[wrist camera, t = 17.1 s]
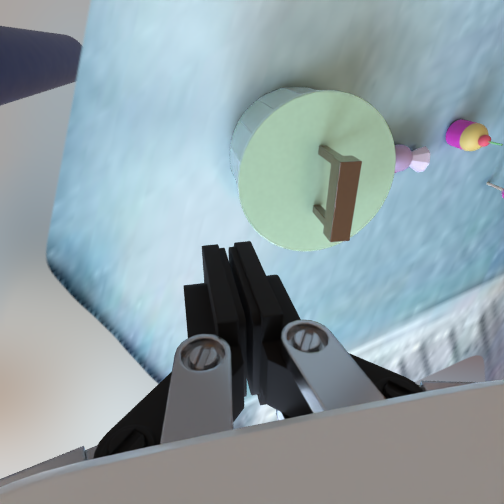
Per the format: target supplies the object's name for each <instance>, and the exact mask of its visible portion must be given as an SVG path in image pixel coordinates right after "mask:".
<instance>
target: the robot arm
mask: <svg viewBox="0 0 504 504" xmlns="http://www.w3.org/2000/svg"><path fill="white" fill-rule="evenodd" d="M202 256H203V270H204V283H201V284H193V285H184V297H185V308H186V320H187V332H188V339H186V340H185V341H183V342H182V343H181V344H180V345H179V347H178V348H177V350H176V353H175V357H174V363H173V369H172V372H171V373H170V374H169V375H168V376H167V377H166V378H165V379H164V380H163V381H162V382H160V383H159V384H158V385H157V386H156V387H155V388H154V389H153V390H152V391H151V392H150V393H149V394H148V395H147V396H146V397H145V398H144V399H143V400H141V401H140V402H139V403H138V404H137V405H136V406H135V407H134V408H133V409H132V410H131V411H130V412H129V413H128V414H127V415H126V416H125V417H124V418H122V420H120V421H119V422H118V423H117V424H116V425H115V426H114V427H113V428H112V429H111V430H110V431H109V432H108V433H107V434H106V435H105V436H104V437H103V439H102V440H101V441H100V442H99V444H98V445H97V446H95V447H92V448H90V449H87V450H85V448H84V446H82V447H80V448H77V449H75V450H72V451H70V452H67V453H65V454H62V455H60V456H57V457H55V458H53V459H50V460H47V461H45V462H42V463H40V464H37V465H35V466H32V467H30V468H27V469H24V470H22V471H19V472H17V473H14V474H12V475H9V476H7V477H5V478H2V479H0V504H504V380H496V381H488V382H479V383H478V382H443V381H421V383H420V385H417V384H415V382H413V381H411V380H410V379H408V378H406V377H404V376H401V375H399V374H397V373H394V372H392V371H390V370H387V369H385V368H382V367H380V366H378V365H375V364H373V363H371V362H368V361H366V360H364V359H361V358H359V357H356V356H354V355H352V354H349V353H348V352H347V351H346V350H345V348H344V347H343V346H342V345H341V343H340V342H339V341H338V340H337V339H336V337H335V336H334V335H333V334H332V332H331V331H330V330H329V329H328V328H326V327H325V326H324V325H322V324H320V323H318V322H315V321H312V320H301V319H300V317H299V315H298V313H297V311H296V309H295V307H294V306H293V304H292V302H291V300H290V298H289V296H288V294H287V292H286V290H285V288H284V286H283V284H282V282H281V280H280V278H279V276H278V275H269V276H266V275H265V272H264V270H263V268H262V266H261V263H260V261H259V259H258V257H257V255H256V252H255V250H254V248H253V246H252V243H251V242H250V241H247V242H237V243H234V247H229V261H228V258H227V254H226V251H225V248H219V246H218V244H217V245H206V246H202ZM247 381H248V385H249V389H250V393H251V395H256V394H257V395H258V399H259V403H260V405H264V404H267V405H269V406H271V407H273V408H275V409H276V415H277V418H278V421H273V422H268V423H263V424H258V425H253V426H248V427H243V428H238V429H233V422H234V421H235V419H236V418H237V417H238V415H239V414H240V413H241V411H242V410H243V409H244V397H245V396H246V395H247Z"/></svg>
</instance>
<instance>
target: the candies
mask: <svg viewBox="0 0 504 504" xmlns="http://www.w3.org/2000/svg"><path fill="white" fill-rule="evenodd" d="M446 141H447V143H448V144H449V145H451V146H454V147H457V148H460V149H463V150H465V151H474V150H477V149H479V148H481V147H482V146H487V145H489V144H490V143H492V144H497V145H501V146H502V145H503V144H499V143H495V142H491V137H490V136H488V130H487V128H486V127H485V126H484V125H482V124H480V123H476V122H471V121H467V120H463V119H462V120H457V121H455V122H454V123H453V124H451V126H450V127H449V128H448V130H447V133H446ZM395 153H396V164H395V172H394V173H396V172H400V171H403V170H405V169H407V168H408V167H411V168H412V169H414V170H415V171H416V172H422V171H424V170H425V169H426V167H427V166H428V164H429V161H430V152H429V150H428V149H427V147H426V146H425V147H421V148H418V149H416V150H414V151H411V150H410V149H409V148H408V147H407V146H405V145H395ZM487 185H490V186H492V187H494V188H497V189H499V190H501V191H502V197H503V198H504V189H503V188H501V187H498V186H496V185H494V184H491V183H489V182H487Z"/></svg>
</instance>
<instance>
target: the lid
mask: <svg viewBox="0 0 504 504" xmlns="http://www.w3.org/2000/svg"><path fill="white" fill-rule="evenodd" d="M395 164H396V153H395V145H394V141H393V137H392V134H391V131H390V129H389V126H388V125H387V123H386V121H385V120H384V118H383V117H382V115H381V114H380V113H379V112H378V111H377V109H375V108H374V107H373V106H372V105H371V104H370V103H368V102H367V101H365V100H363V99H362V98H360V97H358V96H355V95H353V94H350V93H346V92H341V91H336V90H319V91H312V92H308V93H303V94H301V95H298V96H296V97H293V98H291V99H289V100H287V101H286V102H284V103H282V104H280V105H279V106H278V107H276V108H275V109H274V110H272V111H271V112H270V113H269V114H268V115H267V116H266V117H265V118H264V119H263V120H262V121H261V122H260V123H259V125H258V126H257V127H256V128H255V129H254V131H253V133H252V134H251V136H250V138H249V139H248V141H247V143H246V145H245V148H244V150H243V153H242V156H241V159H240V163H239V168H238V178H237V186H238V195H239V199H240V204H241V206H242V209H243V211H244V214H245V216H246V218H247V219H248V221H249V223H250V224H251V225H252V227H253V228H254V229H255V230H256V231H257V232H258V233H259V234H260V235H261V236H262V237H263V238H265V239H266V240H267V241H269V242H271V243H273V244H274V245H276V246H279V247H282V248H285V249H289V250H293V251H316V250H322V249H325V248H329V247H332V246H335V245H337V244H339V243H341V242H343V241H349V240H350V237H352V236H353V235H355V234H356V233H358V232H359V231H360V230H361V229H363V228H364V227H365V226H366V225H367V224H368V223H369V222H370V221H371V220H372V218H373V217H374V216H375V215H376V214H377V212H378V211H379V209H380V208H381V206H382V205H383V203H384V201H385V199H386V197H387V195H388V193H389V190H390V188H391V185H392V181H393V177H394V172H395Z"/></svg>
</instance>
